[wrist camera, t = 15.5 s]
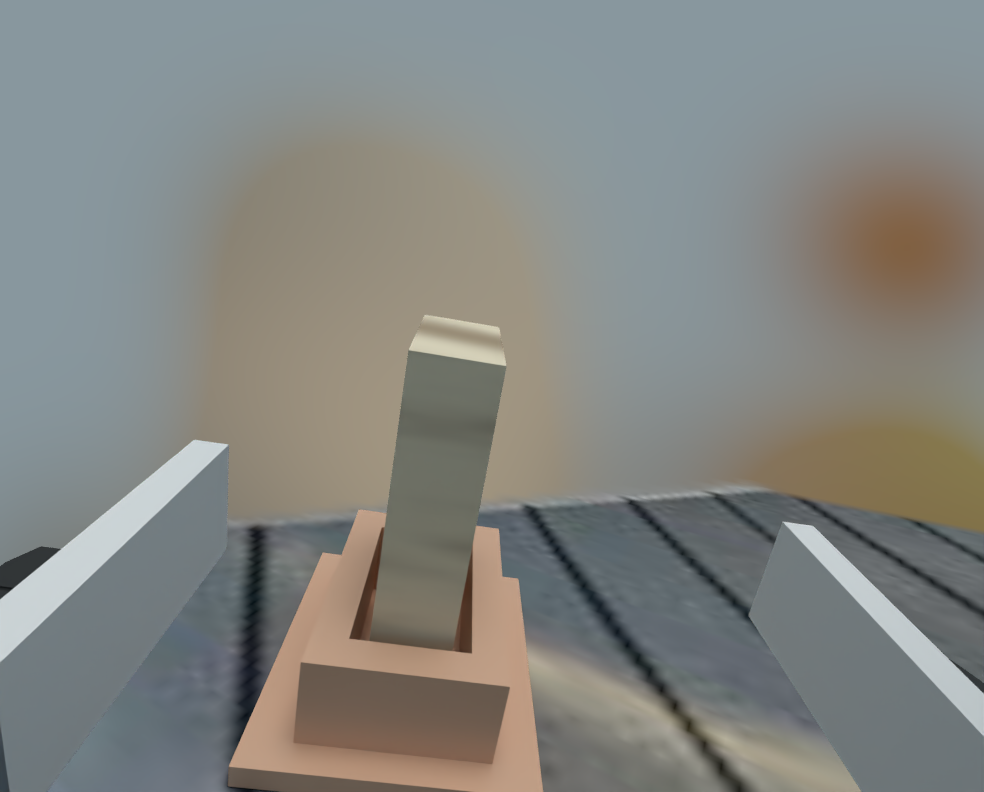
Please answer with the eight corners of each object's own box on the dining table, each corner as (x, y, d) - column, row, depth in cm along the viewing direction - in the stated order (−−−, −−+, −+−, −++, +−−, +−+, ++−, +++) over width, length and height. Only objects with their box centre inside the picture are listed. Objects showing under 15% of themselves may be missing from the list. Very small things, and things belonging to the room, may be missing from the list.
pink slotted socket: (321, 566, 35) (328, 493, 34) (515, 592, 36) (530, 522, 35) (227, 786, 22) (233, 681, 20) (538, 817, 23) (565, 719, 21)
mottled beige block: (384, 599, 32) (425, 314, 27) (447, 607, 32) (498, 327, 27) (360, 703, 25) (408, 349, 20) (440, 712, 25) (506, 365, 21)
